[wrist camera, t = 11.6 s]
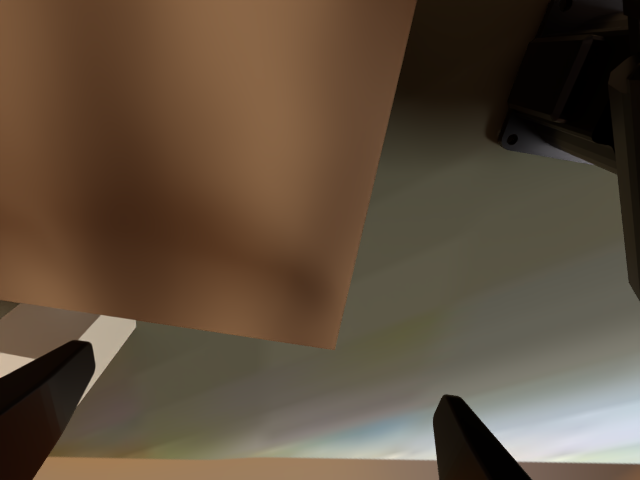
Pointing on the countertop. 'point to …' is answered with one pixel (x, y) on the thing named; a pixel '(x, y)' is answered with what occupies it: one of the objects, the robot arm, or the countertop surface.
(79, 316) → the cube on a stick
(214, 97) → the brown wooden slab
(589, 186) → the countertop surface
